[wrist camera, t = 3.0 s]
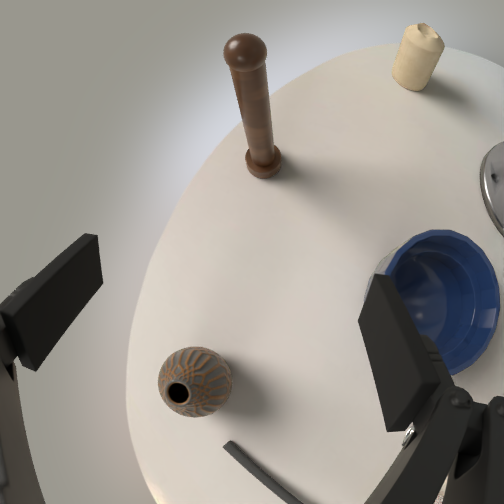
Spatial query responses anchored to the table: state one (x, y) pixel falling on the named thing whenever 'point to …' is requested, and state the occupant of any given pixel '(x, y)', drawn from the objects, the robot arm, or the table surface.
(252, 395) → the table surface
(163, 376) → the vase
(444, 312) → the blue bowl
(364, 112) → the table surface
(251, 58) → the brown wooden post
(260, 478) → the ladle
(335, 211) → the table surface
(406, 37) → the candle
